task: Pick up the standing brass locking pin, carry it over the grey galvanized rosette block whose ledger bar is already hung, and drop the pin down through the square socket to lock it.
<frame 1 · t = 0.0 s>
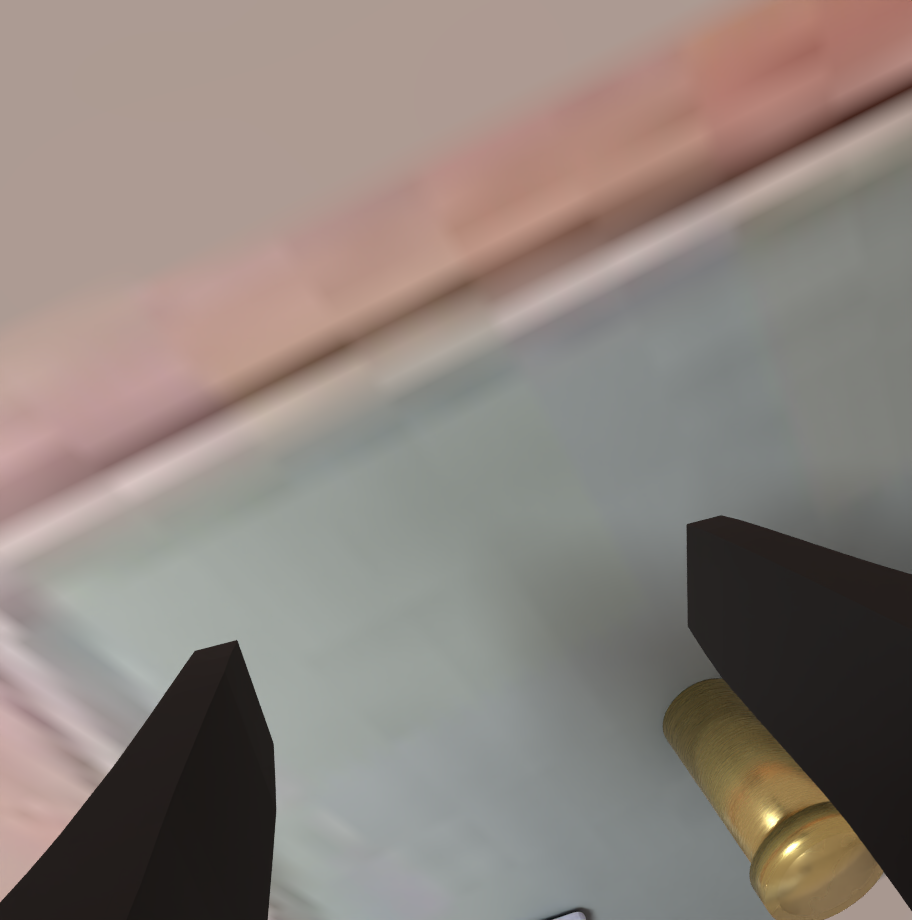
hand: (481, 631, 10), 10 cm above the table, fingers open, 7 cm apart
pin: (703, 714, 27), on the table
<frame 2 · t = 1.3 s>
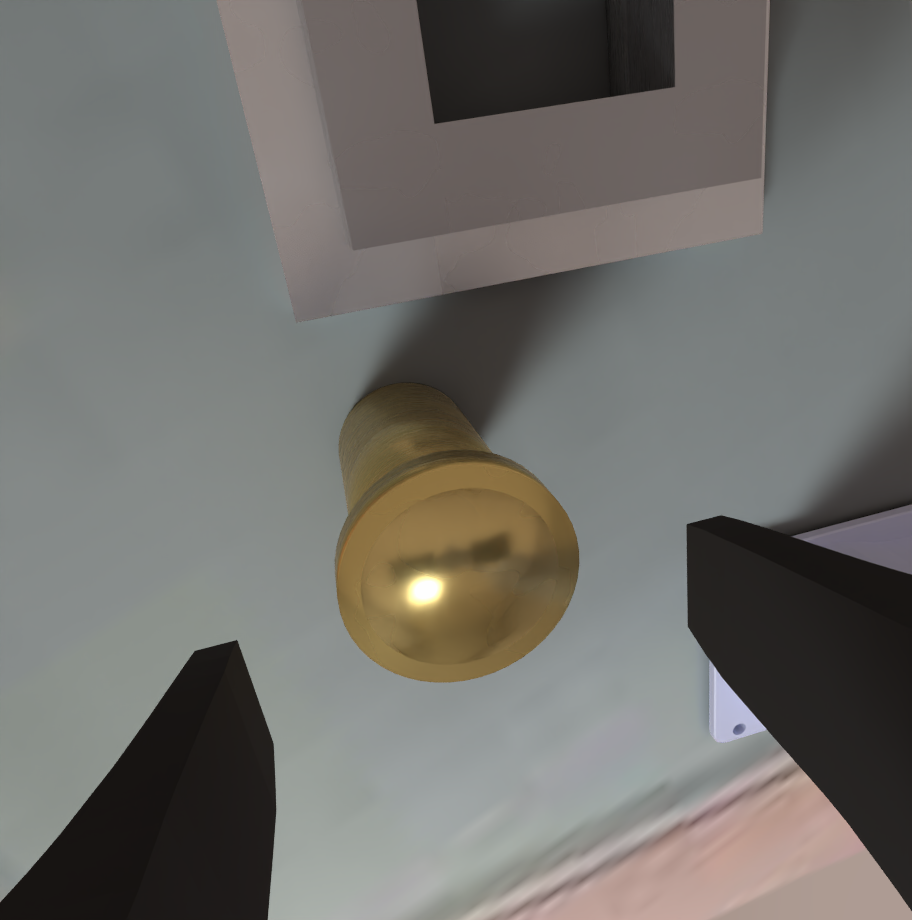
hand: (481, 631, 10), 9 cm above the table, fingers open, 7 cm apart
pin: (405, 446, 18), on the table
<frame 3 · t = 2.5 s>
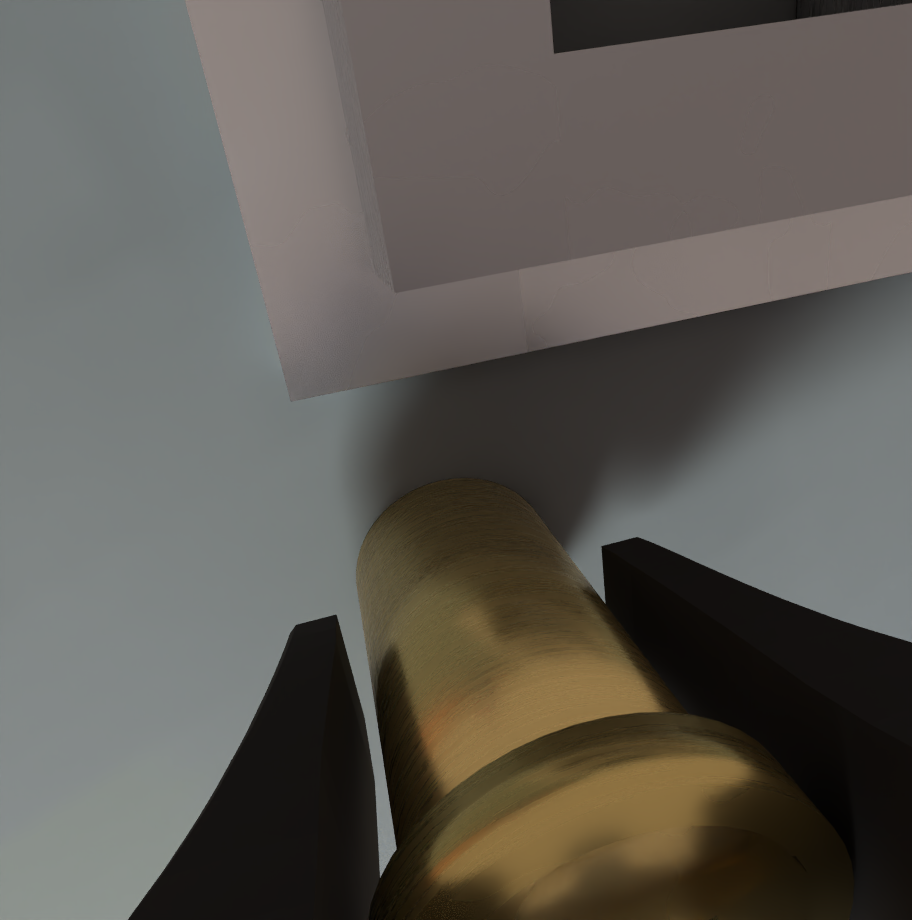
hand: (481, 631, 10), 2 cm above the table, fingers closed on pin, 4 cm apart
pin: (455, 568, 12), on the table, touching gripper
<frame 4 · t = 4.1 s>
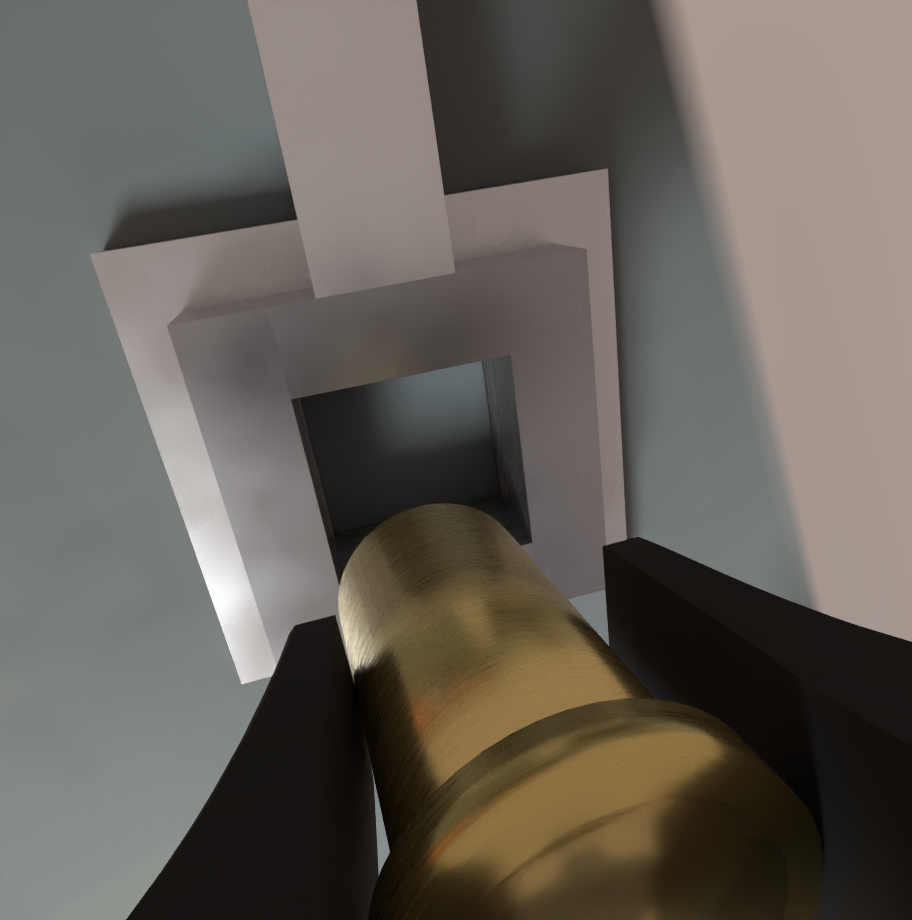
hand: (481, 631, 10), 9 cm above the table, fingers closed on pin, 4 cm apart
rosette: (403, 436, 18), on the table
pin: (434, 593, 12), point 7 cm above the table, touching gripper
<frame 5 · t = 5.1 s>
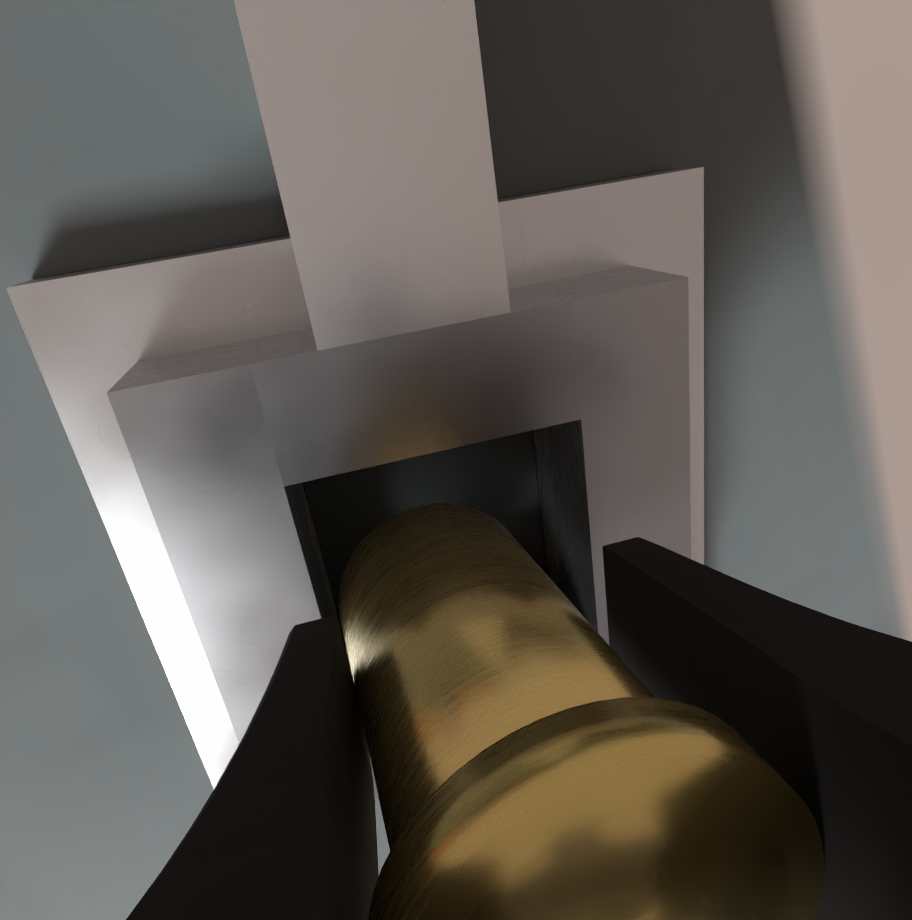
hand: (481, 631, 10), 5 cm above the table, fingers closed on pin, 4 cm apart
rosette: (429, 507, 14), on the table
pin: (434, 592, 12), point 2 cm above the table, touching gripper
when the fingers open (4 cm above the table, at t = 5.8 s): pin drops 2 cm, resting in rosette.
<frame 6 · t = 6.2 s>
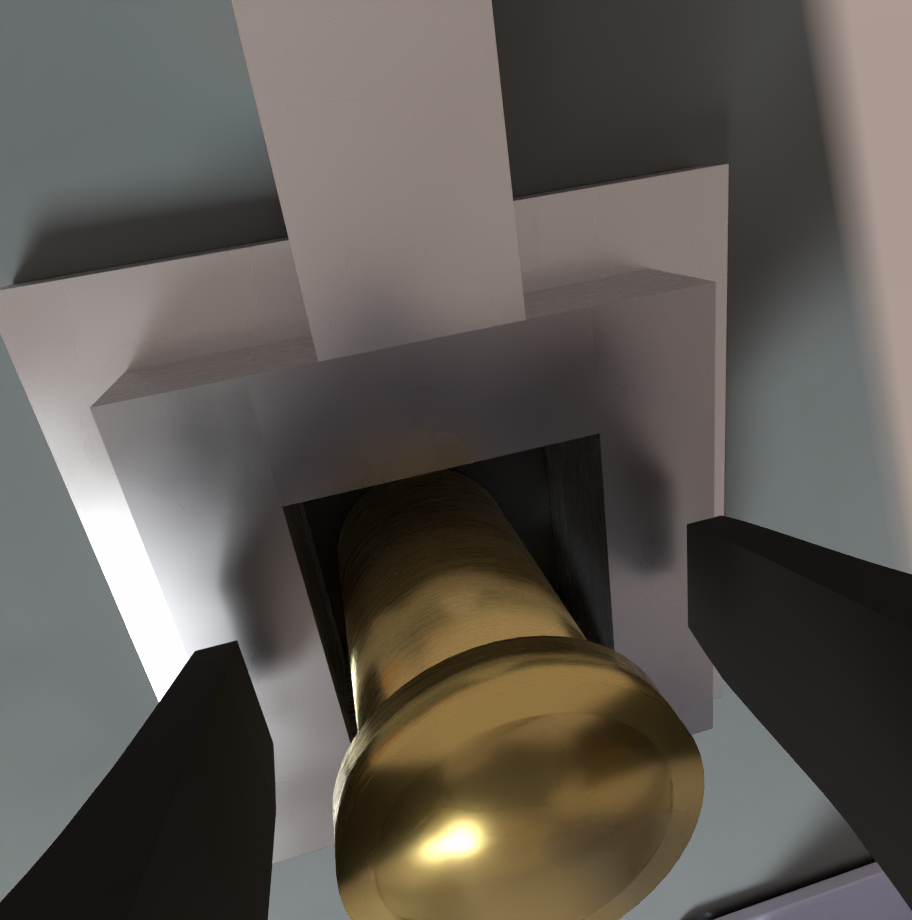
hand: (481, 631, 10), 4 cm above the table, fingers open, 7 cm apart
rosette: (435, 522, 14), on the table
pin: (423, 547, 14), resting in rosette
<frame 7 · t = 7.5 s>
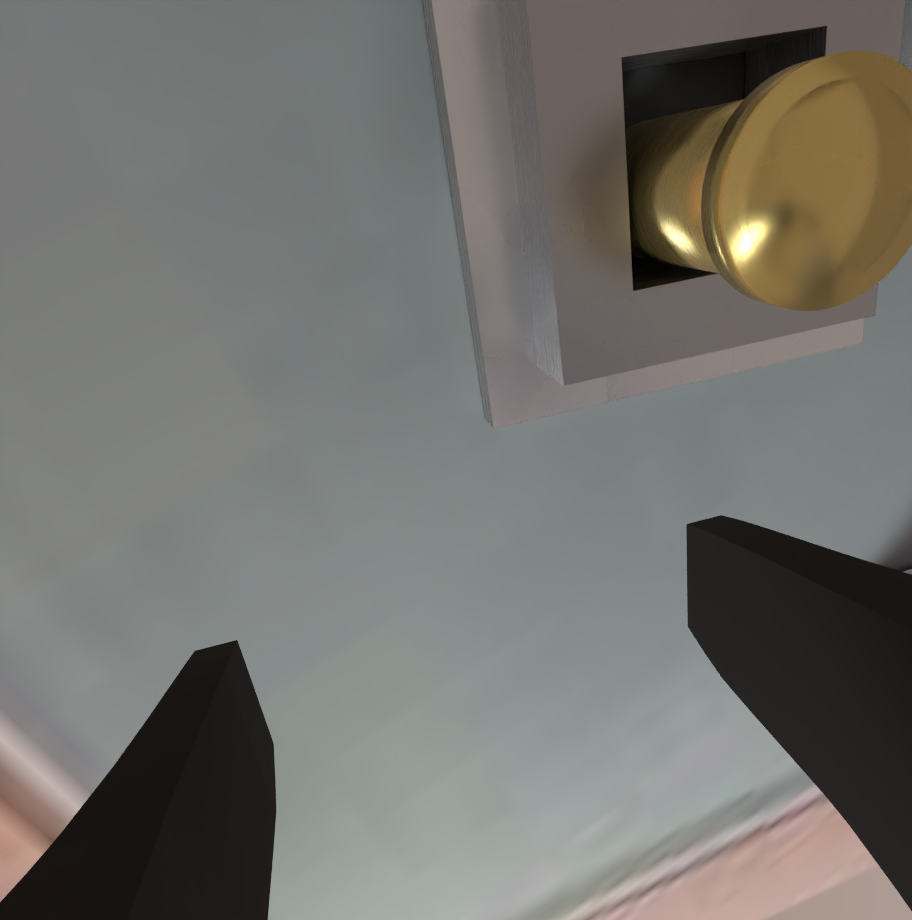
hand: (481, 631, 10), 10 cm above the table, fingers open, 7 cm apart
rosette: (662, 168, 18), on the table
pin: (651, 190, 18), resting in rosette
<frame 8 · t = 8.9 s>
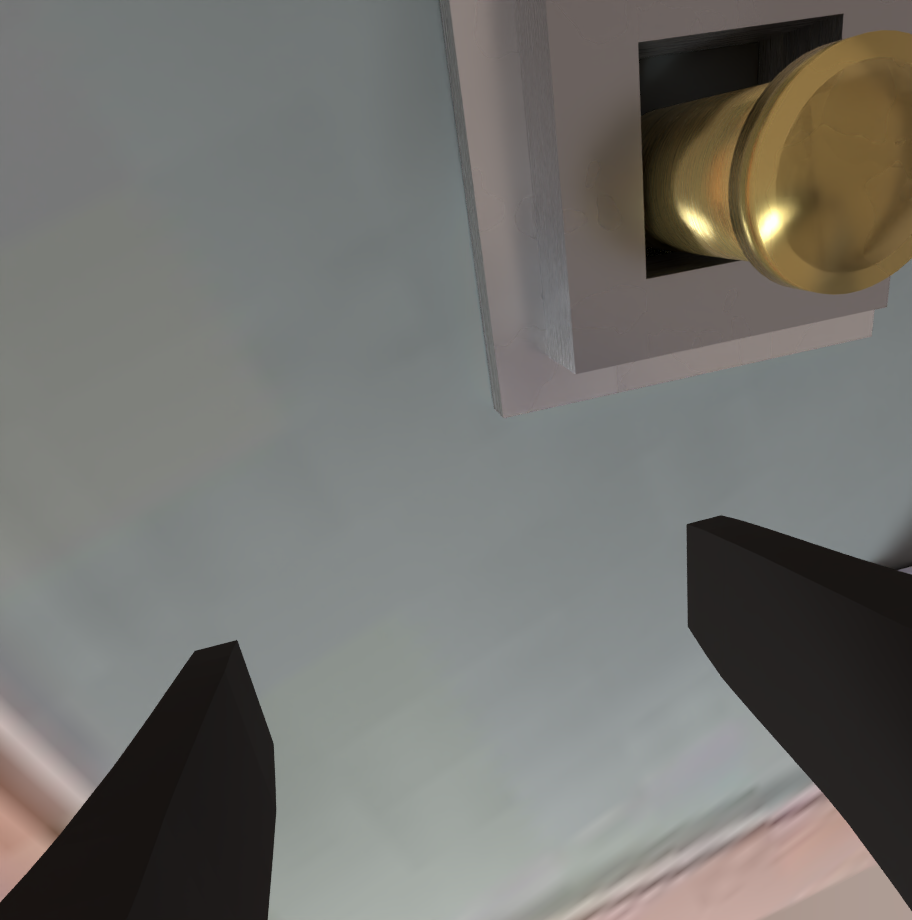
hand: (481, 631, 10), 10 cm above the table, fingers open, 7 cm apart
rosette: (674, 158, 18), on the table
pin: (663, 180, 18), resting in rosette
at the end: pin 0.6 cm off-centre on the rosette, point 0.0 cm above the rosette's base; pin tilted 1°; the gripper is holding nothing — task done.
